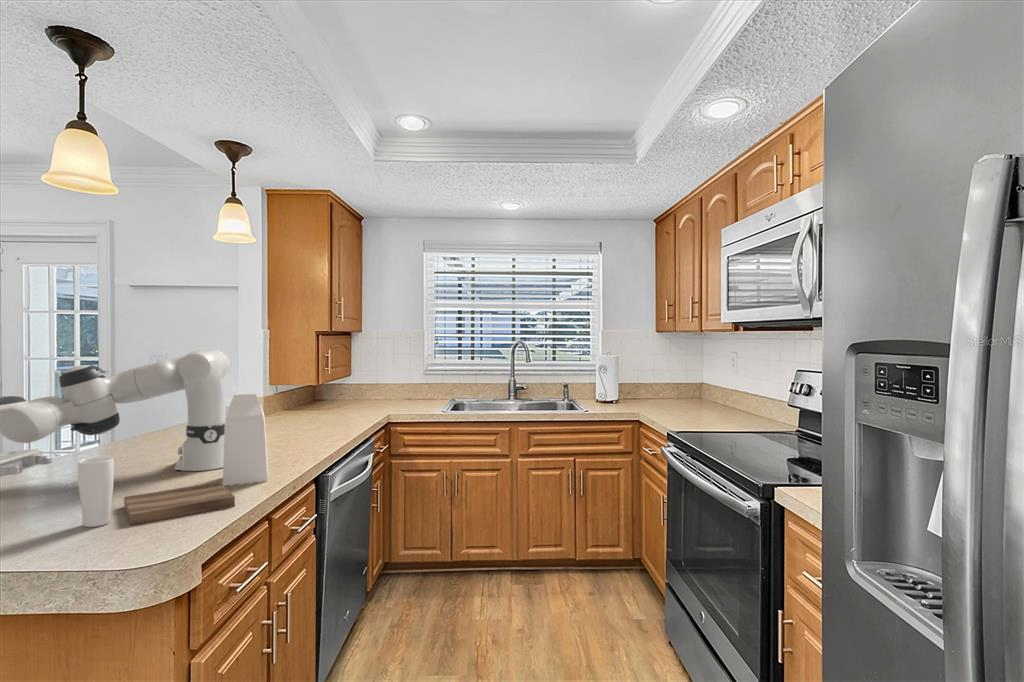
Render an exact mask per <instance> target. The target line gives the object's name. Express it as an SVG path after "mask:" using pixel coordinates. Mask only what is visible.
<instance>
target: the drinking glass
mask: <svg viewBox="0 0 1024 682" xmlns="http://www.w3.org/2000/svg"><path fill="white" fill-rule="evenodd" d="M114 481H115V460H114V457H112V456H99V457H92V458H85V459H82V460H79V461H78V462H77V482H78V483H77V485H78V493H79V499H80V509H81V516H82V519H81V520H82V521H81V522H82V523H81V524H82V526H83V527H85V528H97V527H101V526H105V525H107V524H110V522H111V521H112V504H113V491H114Z"/></svg>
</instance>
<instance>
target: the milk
mask: <svg viewBox="0 0 1024 682" xmlns="http://www.w3.org/2000/svg"><path fill="white" fill-rule="evenodd" d="M229 403H230V404H229V406H228V410H227V411H226V412H227V413H226V415H225V431H224V460H223V467H222V468H223V469H222V470H223V471H222V485H223V486H224V485H229V486H235V485H234V484H239V485H245V484H244V483H249V484H254V483H253V482H258V483H264V482H263V481H269V467H268V465H269V464H268V452H267V435H266V434H267V433H266V422H265V421H266V420H265V419H266V417H265V412H264V410H263V407H262V403H261V401H260V399H259V396H258V395H257V393H256V392H255V393H254V392H253V393H237V394H236V393H234V396H233V397H232V399H231V401H230V402H229ZM224 487H225V486H224Z"/></svg>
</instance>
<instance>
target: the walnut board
mask: <svg viewBox="0 0 1024 682" xmlns="http://www.w3.org/2000/svg"><path fill="white" fill-rule="evenodd" d="M235 498H236V497H235V495H234V494H232V492H231V491H230V490H229V489H228V488H227V487H226V486H223V483H221V482H220V481H218V482H212V483H211V482H210V483H206V484H205V483H204V484H197V485H191V486H185V487H179V488H178V487H177V488H173V489H168V490H167V489H166V490H160V491H159V490H158V491H154V492H148V493H139V494H135V495H133V494H132V495H128V496H124V498H123V501H124V503H123V504H124V506H125V507H124V510H125V509H126V510H125V513H126V515H127V516H126V517H127V518H128V521H129V525H130V526H134V525H133V524H135V525H139V524H138V523H141V524H145V523H144V522H146V523H150V522H149V521H152V522H155V520H157V521H161V520H160V519H162V520H166V518H168V519H172V518H171V517H173V518H176V517H175V516H179V517H181V516H180V515H184V516H187V515H186V514H190V515H194V514H193V513H195V514H199V513H198V512H201V513H204V512H203V511H206V512H210V511H209V510H212V511H215V510H214V509H217V510H220V509H219V508H222V509H226V508H225V507H228V508H231V507H230V506H233V507H236V499H235Z"/></svg>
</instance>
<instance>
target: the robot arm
mask: <svg viewBox="0 0 1024 682" xmlns="http://www.w3.org/2000/svg"><path fill="white" fill-rule="evenodd" d="M230 369H231V360H230V358H229V357H228V356H227V354H225V353H224V352H222V351H221V350H217V349H200V350H193V351H191V352H188V353H187V354H185V355H181V356H176V357H172V358H168V359H167V358H166V359H163V360H160V361H156V362H151V363H147V364H144V365H139V366H136V367H132V368H130V369H127V370H124V371H121V372H119V373H117V374H114V375H111V376H108V377H107V376H105V375H107V374H109V373H110V372H109V371H108V370H103V369H102V368H101V367H98V366H95V365H92V364H91V365H87V364H81V365H75V366H73V367H70V368H68V369H67V370H66V371H65V372H63V373H61V374H60V376H59V378H58V379H59V387H60V388H62V393H63V397H64V399H63V398H61V397H58V396H44V397H38V398H35V399H34V398H33V399H32V400H29V401H27V400H26V399H25V398H24V397H23V396H17V395H15V396H14V395H13V396H11V395H10V396H0V434H1V435H2V437H4V438H5V439H7V440H10V441H12V442H13V443H18V444H31V443H35V442H37V441H40V440H42V439H44V438H46V437H48V436H50V435H51V434H53V433H55V432H56V431H58V430H59V429H61V428H63V427H65V426H69V425H70V426H72V427H71V428H69V429H70V431H72V432H75V431H76V432H78V433H79V434H82V435H86V436H99V435H103V434H107V433H109V432H110V431H112V430H113V429H115V428H116V427H117V426H118V425H119V424H120V413H119V412H118V409H117V405H116V404H130V403H136V402H141V401H146V400H150V399H153V398H157V397H161V396H164V395H165V396H166V395H170V394H173V393H176V392H179V391H183V390H184V392H185V397H186V405H187V425H186V429H185V435H186V438H185V441H184V442H183V443H182V444H181V445H182V446H179V447H178V448H177V455H179V459H177V461H176V463H175V465H174V471H175V470H181V471H188V472H189V471H190V472H191V471H192V472H194V471H195V472H197V471H211V470H217V469H221V468H223V460H224V431H225V420H226V398H225V396H224V393H223V388H222V384H221V380H222V379H223V378H224V377H226V375H228V373H229V371H230ZM52 462H53V457H52V455H43V450H41V449H21V450H20V449H19V450H12V451H5V452H4V451H3V452H0V478H1V477H6V476H9V475H10V476H14V475H19V474H22V473H23V470H25V469H26V470H27V469H30V468H33V467H35V466H39V465H40V466H42V465H43V466H44V465H49V464H51V463H52Z"/></svg>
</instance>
